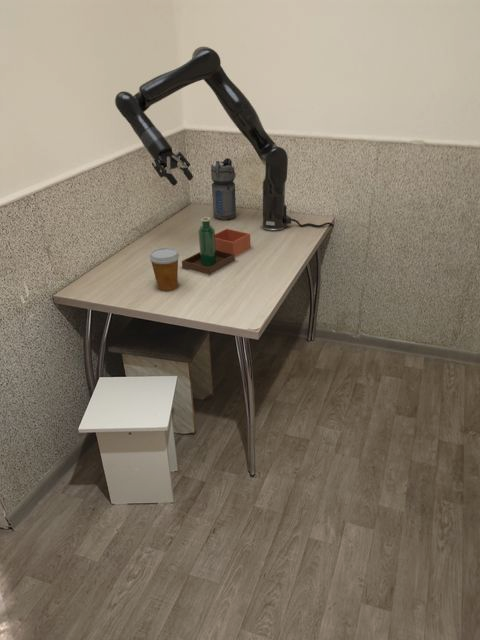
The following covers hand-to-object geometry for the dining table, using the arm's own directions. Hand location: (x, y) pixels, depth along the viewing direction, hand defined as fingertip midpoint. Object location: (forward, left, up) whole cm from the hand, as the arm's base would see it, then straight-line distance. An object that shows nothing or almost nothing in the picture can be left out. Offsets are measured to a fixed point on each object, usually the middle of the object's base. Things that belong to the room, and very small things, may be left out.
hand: (183, 181), depth 181 cm
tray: (-3, +15, -26) cm, 30 cm away
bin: (-15, +4, -26) cm, 31 cm away
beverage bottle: (-27, -35, -26) cm, 51 cm away
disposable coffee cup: (+15, +27, -27) cm, 41 cm away
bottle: (-3, +15, -26) cm, 30 cm away
